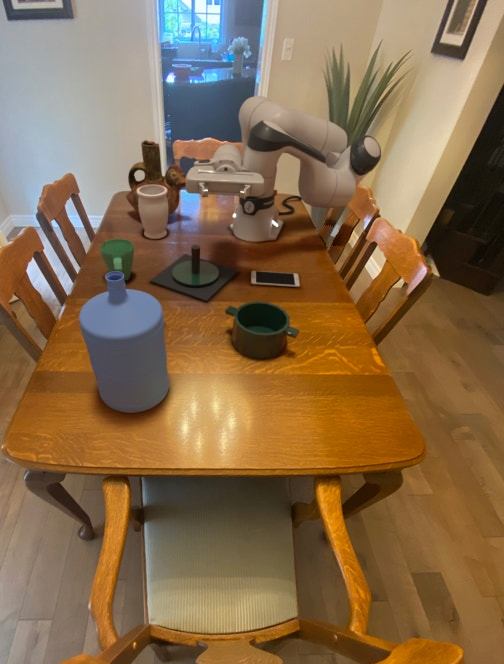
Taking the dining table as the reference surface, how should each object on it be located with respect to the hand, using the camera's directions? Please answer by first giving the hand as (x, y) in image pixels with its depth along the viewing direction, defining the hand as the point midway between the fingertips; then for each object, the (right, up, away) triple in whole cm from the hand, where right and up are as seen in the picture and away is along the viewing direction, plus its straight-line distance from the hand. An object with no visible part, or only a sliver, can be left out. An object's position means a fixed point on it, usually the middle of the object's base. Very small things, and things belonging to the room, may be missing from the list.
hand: (223, 195), depth 90 cm
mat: (-8, -12, +25) cm, 29 cm away
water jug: (-21, -48, -7) cm, 53 cm away
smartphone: (+17, -13, +25) cm, 33 cm away
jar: (-23, +10, +44) cm, 51 cm away
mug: (-30, -14, +22) cm, 40 cm away
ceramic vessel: (-23, +21, +54) cm, 62 cm away
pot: (+9, -36, +5) cm, 37 cm away
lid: (-8, -11, +24) cm, 27 cm away
